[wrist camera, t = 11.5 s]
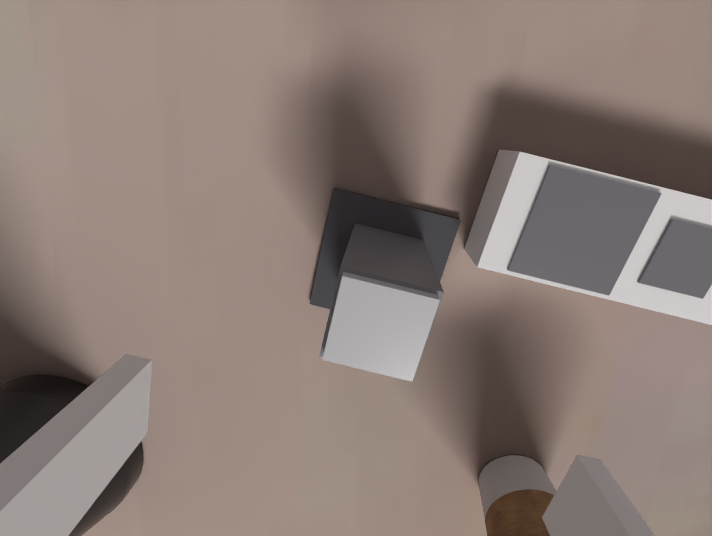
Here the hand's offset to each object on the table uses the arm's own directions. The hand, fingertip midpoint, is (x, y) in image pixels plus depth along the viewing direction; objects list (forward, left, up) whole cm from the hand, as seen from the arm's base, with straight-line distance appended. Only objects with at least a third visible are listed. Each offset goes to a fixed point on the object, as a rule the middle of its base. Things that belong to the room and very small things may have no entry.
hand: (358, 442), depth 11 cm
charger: (0, 0, -17) cm, 17 cm away
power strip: (+20, +6, -17) cm, 28 cm away
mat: (0, 0, -17) cm, 17 cm away
